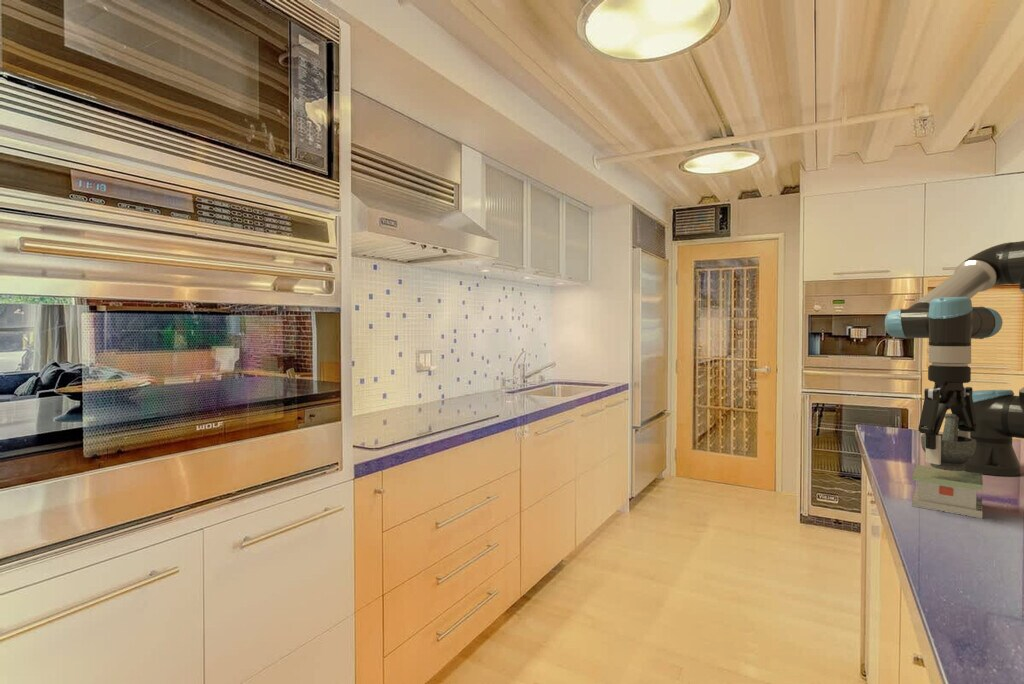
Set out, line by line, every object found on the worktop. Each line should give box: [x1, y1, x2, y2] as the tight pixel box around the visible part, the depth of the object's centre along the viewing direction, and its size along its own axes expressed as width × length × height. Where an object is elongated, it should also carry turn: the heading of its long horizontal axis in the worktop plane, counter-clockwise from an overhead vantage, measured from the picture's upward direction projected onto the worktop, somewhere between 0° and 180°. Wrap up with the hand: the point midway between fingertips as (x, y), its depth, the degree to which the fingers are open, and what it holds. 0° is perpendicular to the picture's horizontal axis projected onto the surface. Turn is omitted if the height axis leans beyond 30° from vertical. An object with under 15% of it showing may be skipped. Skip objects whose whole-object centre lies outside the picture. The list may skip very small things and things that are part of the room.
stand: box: [911, 464, 984, 519], centre depth 120 cm, size 12×12×7 cm
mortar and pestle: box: [920, 412, 976, 471], centre depth 120 cm, size 11×9×12 cm
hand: (947, 460), depth 120 cm, fingers closed on mortar and pestle, 10 cm apart
